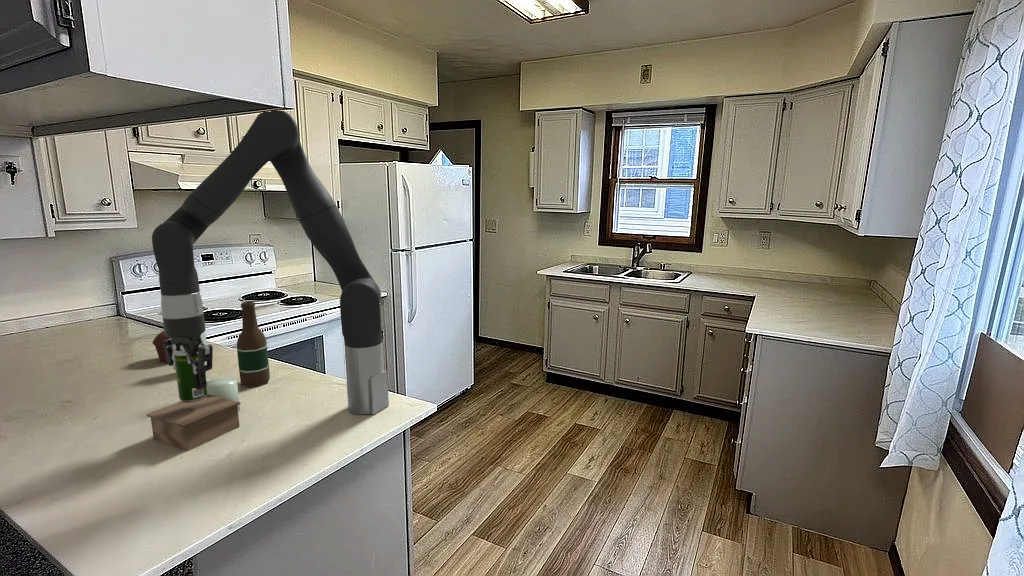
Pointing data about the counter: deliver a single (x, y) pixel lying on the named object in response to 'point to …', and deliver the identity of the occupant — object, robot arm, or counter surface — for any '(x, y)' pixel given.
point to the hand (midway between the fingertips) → (192, 386)
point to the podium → (194, 421)
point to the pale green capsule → (224, 388)
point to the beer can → (187, 379)
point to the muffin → (161, 346)
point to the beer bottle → (252, 350)
